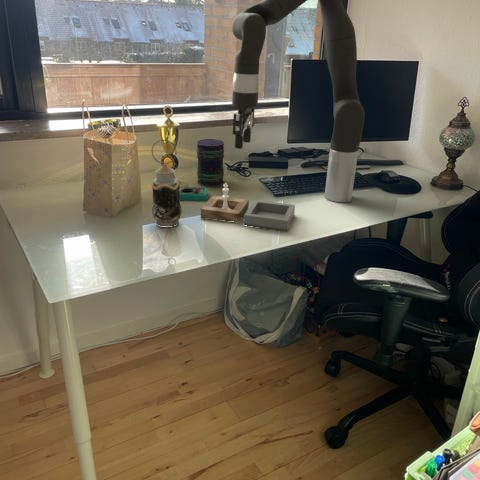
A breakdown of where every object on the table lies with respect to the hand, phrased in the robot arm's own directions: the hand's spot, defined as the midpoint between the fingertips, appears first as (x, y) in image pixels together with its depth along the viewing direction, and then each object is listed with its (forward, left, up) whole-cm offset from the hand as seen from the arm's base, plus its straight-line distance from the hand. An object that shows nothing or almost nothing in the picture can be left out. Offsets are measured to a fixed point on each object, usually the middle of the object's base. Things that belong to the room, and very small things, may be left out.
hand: (242, 145), depth 140 cm
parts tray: (-11, +7, -21) cm, 24 cm away
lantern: (+17, +19, -21) cm, 33 cm away
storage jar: (+17, -21, -21) cm, 34 cm away
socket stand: (+3, +6, -21) cm, 22 cm away
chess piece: (+3, +6, -21) cm, 22 cm away
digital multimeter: (+20, -4, -21) cm, 30 cm away
